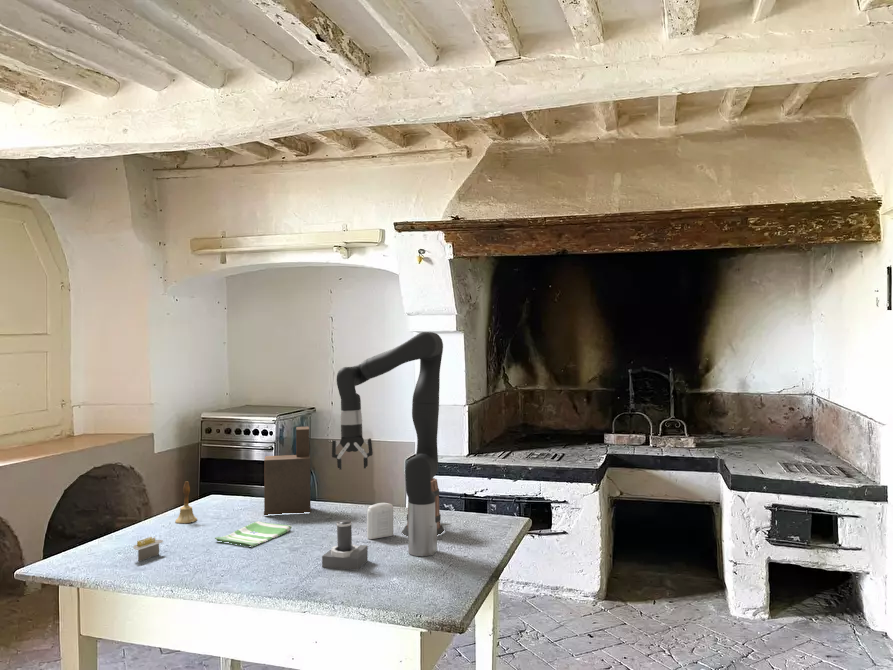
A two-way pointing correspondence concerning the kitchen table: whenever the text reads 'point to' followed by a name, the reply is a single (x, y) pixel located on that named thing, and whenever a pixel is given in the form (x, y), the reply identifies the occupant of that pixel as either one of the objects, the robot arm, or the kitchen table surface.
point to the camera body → (346, 558)
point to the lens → (344, 535)
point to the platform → (147, 548)
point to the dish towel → (250, 539)
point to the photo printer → (379, 520)
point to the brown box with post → (288, 479)
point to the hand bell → (186, 508)
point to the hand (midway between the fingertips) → (352, 468)
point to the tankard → (437, 512)
